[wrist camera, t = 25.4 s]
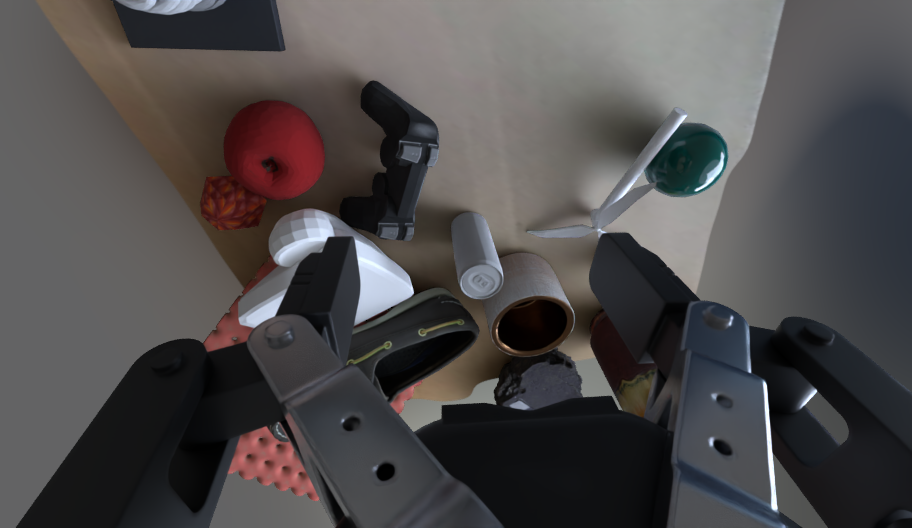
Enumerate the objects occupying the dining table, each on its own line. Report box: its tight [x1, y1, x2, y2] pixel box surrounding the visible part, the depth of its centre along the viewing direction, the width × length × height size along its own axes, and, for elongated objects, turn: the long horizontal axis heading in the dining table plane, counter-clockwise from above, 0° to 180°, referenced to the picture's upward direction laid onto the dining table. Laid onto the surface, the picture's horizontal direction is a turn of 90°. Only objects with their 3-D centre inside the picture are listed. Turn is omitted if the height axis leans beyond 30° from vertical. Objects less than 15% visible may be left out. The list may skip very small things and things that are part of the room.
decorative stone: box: [200, 176, 267, 230], centre depth 40 cm, size 6×7×8 cm
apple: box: [224, 100, 325, 200], centre depth 36 cm, size 9×9×10 cm
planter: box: [482, 252, 575, 357], centre depth 50 cm, size 11×11×10 cm
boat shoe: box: [267, 288, 480, 442], centre depth 47 cm, size 11×29×9 cm, turn 115°
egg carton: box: [203, 254, 423, 501], centre depth 51 cm, size 28×28×2 cm
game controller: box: [339, 81, 439, 241], centre depth 40 cm, size 16×7×10 cm, turn 161°
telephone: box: [238, 208, 414, 328], centre depth 43 cm, size 16×20×9 cm
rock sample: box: [494, 347, 583, 410], centre depth 65 cm, size 18×16×5 cm
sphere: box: [644, 123, 728, 197], centre depth 41 cm, size 8×8×8 cm
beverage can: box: [451, 212, 503, 299], centre depth 43 cm, size 5×5×12 cm
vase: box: [590, 309, 657, 417], centre depth 50 cm, size 11×11×26 cm
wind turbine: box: [527, 108, 687, 239], centre depth 44 cm, size 4×14×21 cm
